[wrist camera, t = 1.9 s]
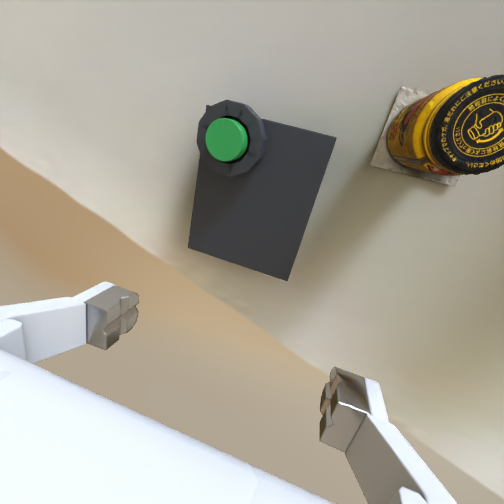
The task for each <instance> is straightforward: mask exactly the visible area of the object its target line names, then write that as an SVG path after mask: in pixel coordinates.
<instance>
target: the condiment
mask: <svg viewBox="0 0 504 504" xmlns="http://www.w3.org/2000/svg"><path fill="white" fill-rule="evenodd" d="M503 164H504V75H495V76H491V77H488V78H486V77H484V78H473V79H468V80H464V81H460V82H457V83H454V84H452V85H450V86H448V87H445V88H443V89H441V90H439V91H436V92H434V93H433V92H428V91H423V90H418V89H413V88H408V87H404V86H401V88H400V90H399V93H398V96H397V98H396V100H395V103H394V105H393V108H392V110H391V113H390V115H389V118H388V120H387V123H386V125H385V128H384V130H383V133H382V135H381V138H380V140H379V143H378V145H377V148H376V151H375V153H374V156H373V158H372V161H371V163H370V166H375V167H379V168H383V169H387V170H391V171H395V172H399V173H403V174H407V175H411V176H415V177H419V178H423V179H427V180H431V181H435V182H439V183H443V184H447V185H451V186H455V184H456V182H457V181H458V178H459V176H460V175H463V174H465V175H468V174H474V175H478V174H480V173H484V172H489V171H491V170H494V169H496V168H499V167H500V166H502V165H503Z"/></svg>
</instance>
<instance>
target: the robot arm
mask: <svg viewBox="0 0 504 504" xmlns="http://www.w3.org/2000/svg"><path fill="white" fill-rule="evenodd" d="M138 303H139V295H138V294H137V293H135V292H132V291H130V290H128V289H125V288H122V287H120V286H117V285H115V284H112V283H109V282H102V283H100V284H98V285H96V286H94V287H92V288H90V289H88V290H86V291H84V292H82V293H80V294H78V295H76V296H74V297H72V298H70V297H63V298H56V299H48V300H42V301H35V302H27V303H20V304H13V305H7V306H0V504H335V503H333V502H331V501H329V500H327V499H325V498H322V497H320V496H318V495H316V494H314V493H312V492H309V491H307V490H305V489H303V488H301V487H299V486H296V485H294V484H292V483H290V482H288V481H286V480H283V479H281V478H279V477H277V476H275V475H273V474H270V473H268V472H266V471H264V470H262V469H260V468H257V467H255V466H253V465H251V464H249V463H246V462H244V461H242V460H240V459H238V458H236V457H234V456H231V455H229V454H227V453H225V452H223V451H220V450H218V449H216V448H214V447H212V446H210V445H207V444H205V443H203V442H201V441H199V440H197V439H194V438H192V437H190V436H188V435H186V434H184V433H181V432H179V431H177V430H175V429H173V428H170V427H168V426H166V425H164V424H162V423H160V422H158V421H155V420H153V419H151V418H149V417H147V416H145V415H142V414H140V413H138V412H136V411H134V410H132V409H129V408H127V407H125V406H123V405H121V404H119V403H116V402H114V401H112V400H110V399H108V398H105V397H103V396H101V395H99V394H97V393H95V392H93V391H90V390H88V389H86V388H84V387H81V386H79V385H77V384H75V383H73V382H71V381H69V380H66V379H64V378H62V377H60V376H58V375H55V374H54V373H51V372H49V371H47V370H45V369H43V368H40V367H38V366H36V365H34V363H36V362H39V361H42V360H44V359H47V358H50V357H53V356H55V355H58V354H61V353H63V352H66V351H69V350H72V349H75V348H77V347H80V346H83V345H85V344H86V343H88V344H90V345H93V346H96V347H99V348H101V349H104V350H107V349H108V348H109V347H110V346H112V345H113V344H114V343H115V342H116V341H118V339H119V335H121V334H124V333H127V332H128V331H130V330H131V329H132V328H133V326H134V325H135V323H136V321H137V318H138V310H137V308H136V305H137V304H138ZM320 412H321V413H322V415H323V417H322V419H321V421H320V441H321V442H323V443H325V444H327V445H329V446H331V447H334V448H336V449H339V450H340V451H343V452H345V455H346V457H347V460H348V462H349V464H350V466H351V468H352V470H353V472H354V474H355V477H356V479H357V481H358V483H359V485H360V487H361V489H362V491H363V494H364V496H365V497H366V500H367V502H368V504H457V502H456V501H455V500H454V499H453V497H452V496H451V495H450V494H449V492H448V491H447V490H446V489H445V488H444V486H443V485H442V484H441V482H440V481H439V480H438V479H437V477H436V476H435V475H434V474H433V473H432V471H431V470H430V469H429V468H428V466H427V465H426V464H425V463H424V461H423V460H422V459H421V458H420V456H419V455H418V454H417V453H416V451H415V450H414V449H413V448H412V446H411V445H410V444H409V443H408V442H407V440H406V439H405V438H404V437H403V435H402V434H401V433H400V432H399V430H398V429H397V428H396V427H395V425H393V424H391V423H389V419H388V416H387V412H386V408H385V404H384V400H383V397H382V393H381V389H380V385H379V383H378V382H377V381H375V380H372V379H369V378H366V377H362V376H359V375H356V374H354V373H351V372H348V371H345V370H343V369H340V368H337V367H334V368H333V369H332V371H331V373H330V382H328V383H326V384H325V387H324V389H323V393H322V396H321V403H320Z"/></svg>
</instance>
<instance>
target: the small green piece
mask: <svg viewBox="0 0 504 504" xmlns="http://www.w3.org/2000/svg"><path fill="white" fill-rule="evenodd" d="M205 139H206V146H207V149H208V151H209V152H210V154H211V155H212V156H213V157H214V158H216V159H217V160H220V161H225V162H226V161H232V160H236V159H238V158H240V157H241V156H242V155H243V154H244V153H245V151H246V148H247V145H248V136H247V133H246V130H245V129H244V127H243V126H242V125H241V124H240V123H239V122H237V121H235V120H232V119H228V118H220V119H217V120H215V121H213V122H212V123H211V124H210V126H209V127H208V129H207V132H206V138H205Z"/></svg>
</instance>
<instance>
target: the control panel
mask: <svg viewBox="0 0 504 504" xmlns="http://www.w3.org/2000/svg"><path fill="white" fill-rule="evenodd" d="M220 118H228V119H232V120H235V121H237V122H239V123H240V124H241V125H242V126H243V127H244V129H245V130H246V133H247V136H248V145H247V148H246V151H245V153H244V154H243V155H242V156H241V157H240V158H238V159H236V160H232V161H226V162H225V161H220V160H217V159H216V158H214V157H213V156H212V155H211V154H210V152H209V151H208V149H207V146H206V139H205V138H206V132H207V129H208V127H209V126H210V124H211V123H212V122H213V121H215V120H217V119H220ZM335 141H336V137H332V136H329V135H325V134H321V133H317V132H313V131H309V130H305V129H301V128H297V127H293V126H289V125H285V124H281V123H277V122H273V121H269V120H265V119H261V118H260V117H259V116H258V115H257V114H256V113H255V112H254V111H253V110H252V108H251V107H249V106H247V105H245V104H242V103H238V102H234V101H230V100H225V101H222V102H220V103H217V104H215V105H212V106H209V105H207V106H206V113H205V114H204V115H203V117H202V118H201V120H200V121H199V126H198V134H197V145H198V148H199V151H200V159H199V167H198V175H197V182H196V190H195V198H194V205H193V213H192V221H191V228H190V236H189V243H188V248H190V249H193V250H196V251H199V252H202V253H205V254H208V255H211V256H214V257H217V258H220V259H223V260H226V261H229V262H232V263H235V264H238V265H241V266H244V267H247V268H250V269H253V270H256V271H258V272H261V273H264V274H267V275H270V276H273V277H276V278H279V279H282V280H285V281H288V278H289V275H290V272H291V269H292V266H293V263H294V260H295V258H296V255H297V252H298V249H299V246H300V243H301V240H302V237H303V234H304V231H305V228H306V225H307V223H308V220H309V217H310V214H311V211H312V208H313V205H314V202H315V199H316V196H317V193H318V191H319V188H320V185H321V182H322V179H323V176H324V173H325V170H326V167H327V164H328V161H329V158H330V156H331V153H332V150H333V147H334V144H335Z"/></svg>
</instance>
